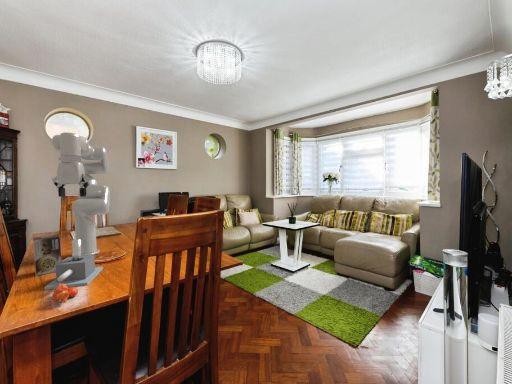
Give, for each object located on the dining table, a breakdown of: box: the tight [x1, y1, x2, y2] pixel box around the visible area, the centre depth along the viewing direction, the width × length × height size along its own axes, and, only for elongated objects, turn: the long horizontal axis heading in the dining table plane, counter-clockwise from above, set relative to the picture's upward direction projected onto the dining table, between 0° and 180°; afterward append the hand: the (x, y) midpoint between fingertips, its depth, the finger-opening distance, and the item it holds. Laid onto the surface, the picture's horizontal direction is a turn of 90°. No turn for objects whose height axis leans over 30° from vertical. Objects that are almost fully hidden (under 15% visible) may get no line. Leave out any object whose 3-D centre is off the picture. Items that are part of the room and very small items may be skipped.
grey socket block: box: [44, 255, 104, 291], centre depth 96 cm, size 22×14×8 cm, turn 17°
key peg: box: [71, 238, 81, 262], centre depth 98 cm, size 3×3×12 cm
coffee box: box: [32, 234, 63, 277], centre depth 105 cm, size 9×6×16 cm
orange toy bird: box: [51, 284, 79, 304], centre depth 81 cm, size 5×8×12 cm
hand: (72, 196), depth 108 cm, fingers open, 9 cm apart
